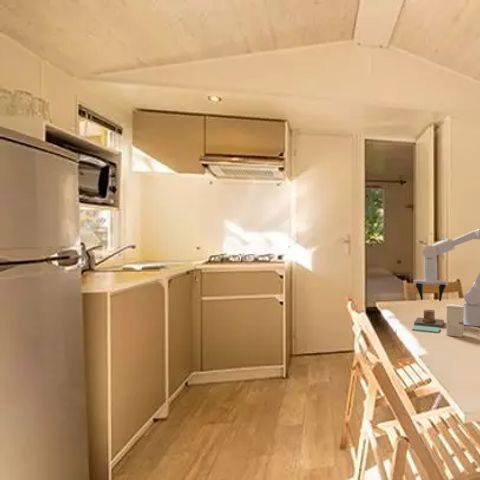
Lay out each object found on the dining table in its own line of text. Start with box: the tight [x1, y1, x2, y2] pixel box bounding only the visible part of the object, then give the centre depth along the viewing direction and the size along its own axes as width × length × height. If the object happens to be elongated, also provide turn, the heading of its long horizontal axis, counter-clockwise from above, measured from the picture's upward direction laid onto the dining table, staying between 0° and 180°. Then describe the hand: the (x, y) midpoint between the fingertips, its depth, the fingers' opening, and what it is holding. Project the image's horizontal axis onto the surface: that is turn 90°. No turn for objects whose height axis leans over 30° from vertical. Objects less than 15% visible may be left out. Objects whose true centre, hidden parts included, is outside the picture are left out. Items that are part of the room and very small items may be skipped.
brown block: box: [423, 309, 436, 323], centre depth 173 cm, size 4×4×6 cm
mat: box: [411, 324, 441, 334], centre depth 163 cm, size 10×7×1 cm
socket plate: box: [413, 317, 445, 329], centre depth 173 cm, size 11×11×1 cm
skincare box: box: [445, 303, 464, 338], centre depth 154 cm, size 6×4×12 cm
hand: (430, 300), depth 180 cm, fingers open, 7 cm apart
